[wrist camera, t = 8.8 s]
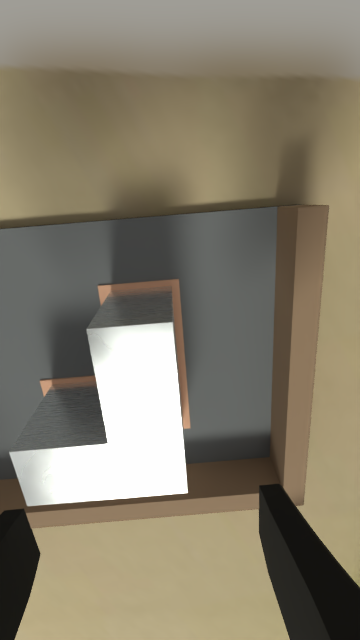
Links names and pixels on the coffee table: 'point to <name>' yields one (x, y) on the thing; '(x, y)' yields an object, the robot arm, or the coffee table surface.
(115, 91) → the coffee table surface
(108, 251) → the arena
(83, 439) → the l block
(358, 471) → the coffee table surface
